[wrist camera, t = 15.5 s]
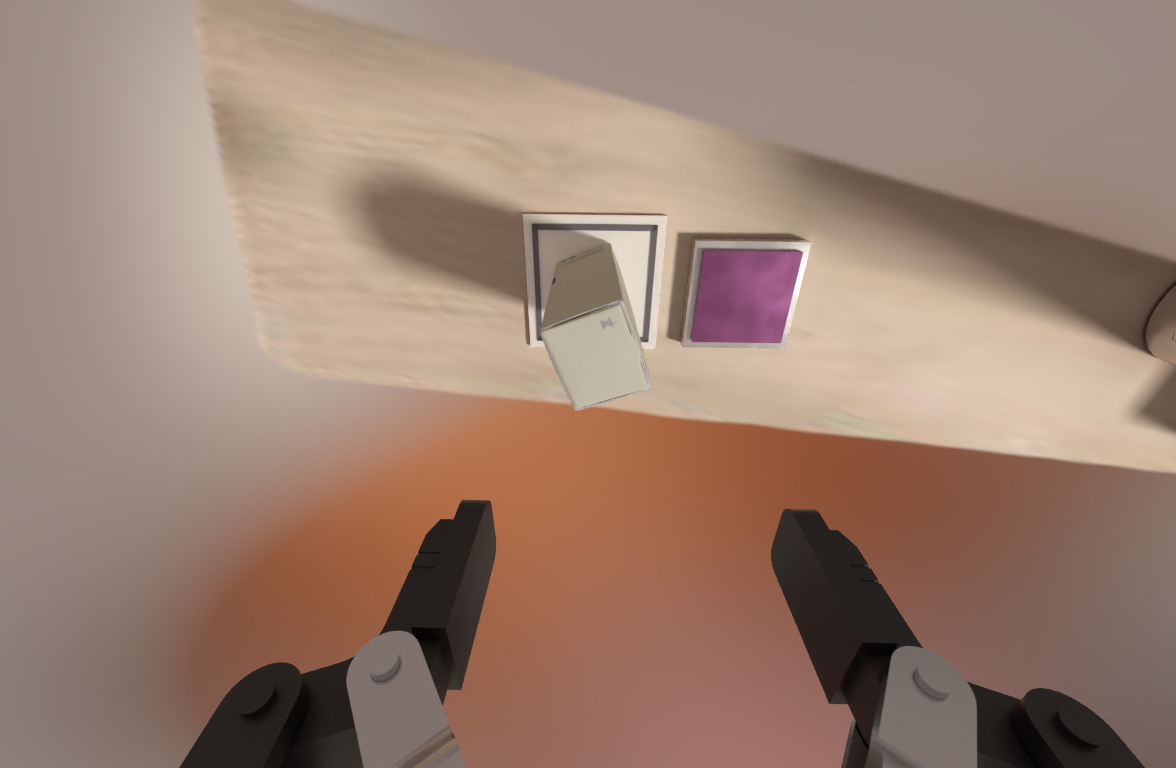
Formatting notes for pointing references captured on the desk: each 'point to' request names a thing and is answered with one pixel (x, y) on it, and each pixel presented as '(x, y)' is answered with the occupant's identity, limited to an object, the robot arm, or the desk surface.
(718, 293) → the ink pad
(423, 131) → the desk surface
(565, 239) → the paper
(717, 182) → the desk surface
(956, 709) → the robot arm
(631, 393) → the box
